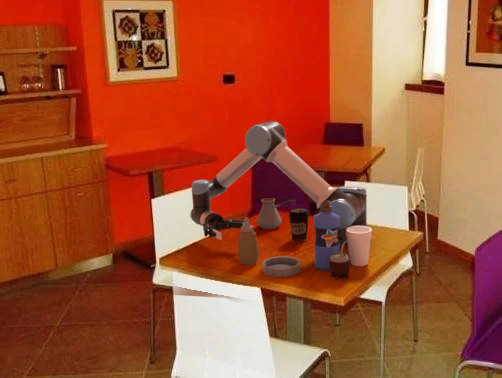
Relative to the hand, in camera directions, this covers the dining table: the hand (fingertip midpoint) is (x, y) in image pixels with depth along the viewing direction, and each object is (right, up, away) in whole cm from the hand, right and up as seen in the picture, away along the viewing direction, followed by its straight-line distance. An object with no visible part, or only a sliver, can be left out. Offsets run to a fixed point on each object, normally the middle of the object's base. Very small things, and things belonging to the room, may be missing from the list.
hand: (236, 233), depth 235 cm
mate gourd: (+37, -14, -24) cm, 46 cm away
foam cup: (+46, -10, -11) cm, 48 cm away
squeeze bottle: (+5, -11, -5) cm, 13 cm away
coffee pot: (+18, -1, +37) cm, 41 cm away
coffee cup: (+26, -5, +20) cm, 33 cm away
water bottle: (+34, -12, -13) cm, 38 cm away
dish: (+17, -13, -14) cm, 25 cm away
